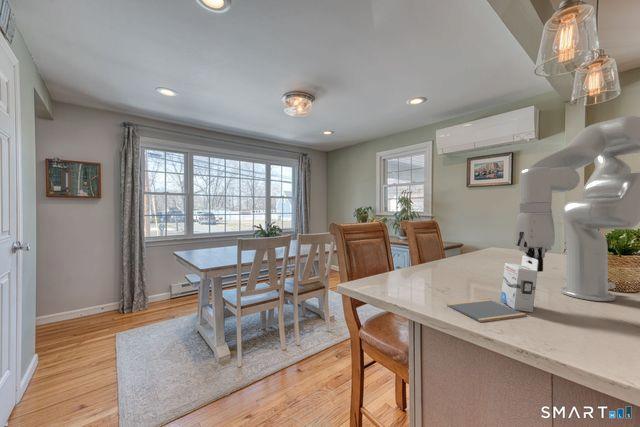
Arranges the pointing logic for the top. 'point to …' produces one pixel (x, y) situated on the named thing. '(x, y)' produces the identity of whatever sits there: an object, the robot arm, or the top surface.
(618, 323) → the top surface
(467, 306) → the mat
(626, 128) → the robot arm
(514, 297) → the ink box
